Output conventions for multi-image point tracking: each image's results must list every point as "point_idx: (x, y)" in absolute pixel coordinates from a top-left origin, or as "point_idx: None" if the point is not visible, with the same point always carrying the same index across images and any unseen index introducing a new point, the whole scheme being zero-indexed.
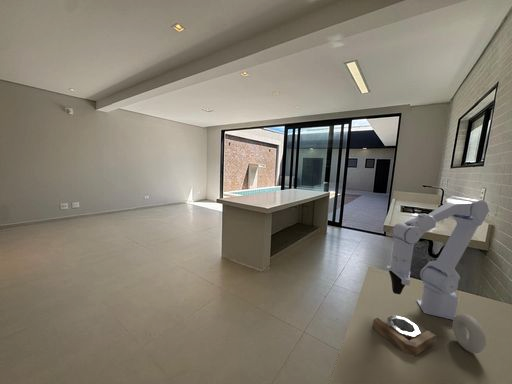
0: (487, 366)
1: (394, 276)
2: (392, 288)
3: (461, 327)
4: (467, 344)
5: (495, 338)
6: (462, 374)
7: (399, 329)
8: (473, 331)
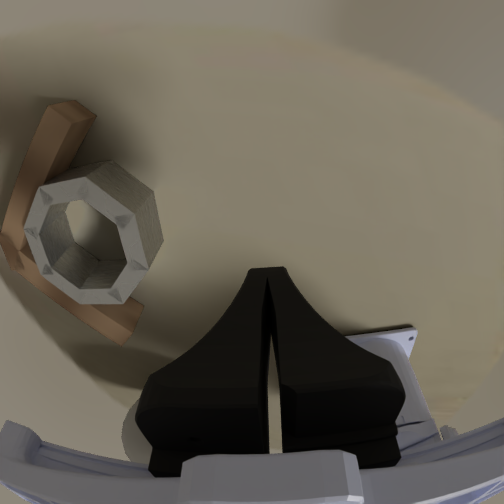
0: (137, 397)
1: (151, 426)
2: (277, 277)
3: None
4: None
5: (275, 439)
6: (61, 341)
7: (38, 225)
8: (127, 449)
